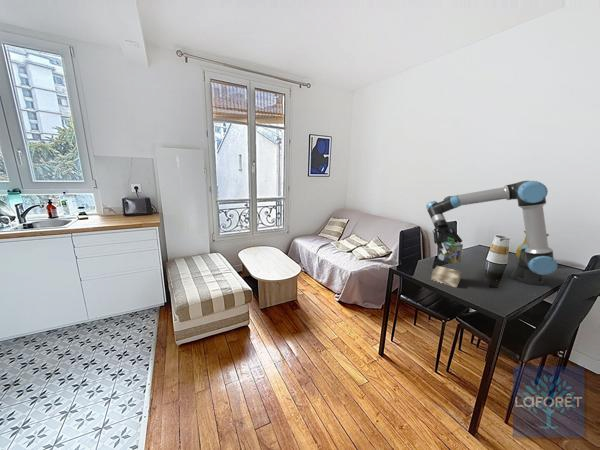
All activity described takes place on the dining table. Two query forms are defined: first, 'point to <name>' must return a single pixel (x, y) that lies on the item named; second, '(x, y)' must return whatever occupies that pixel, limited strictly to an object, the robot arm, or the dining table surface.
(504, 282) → the dining table surface
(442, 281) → the birch block
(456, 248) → the chalk box
